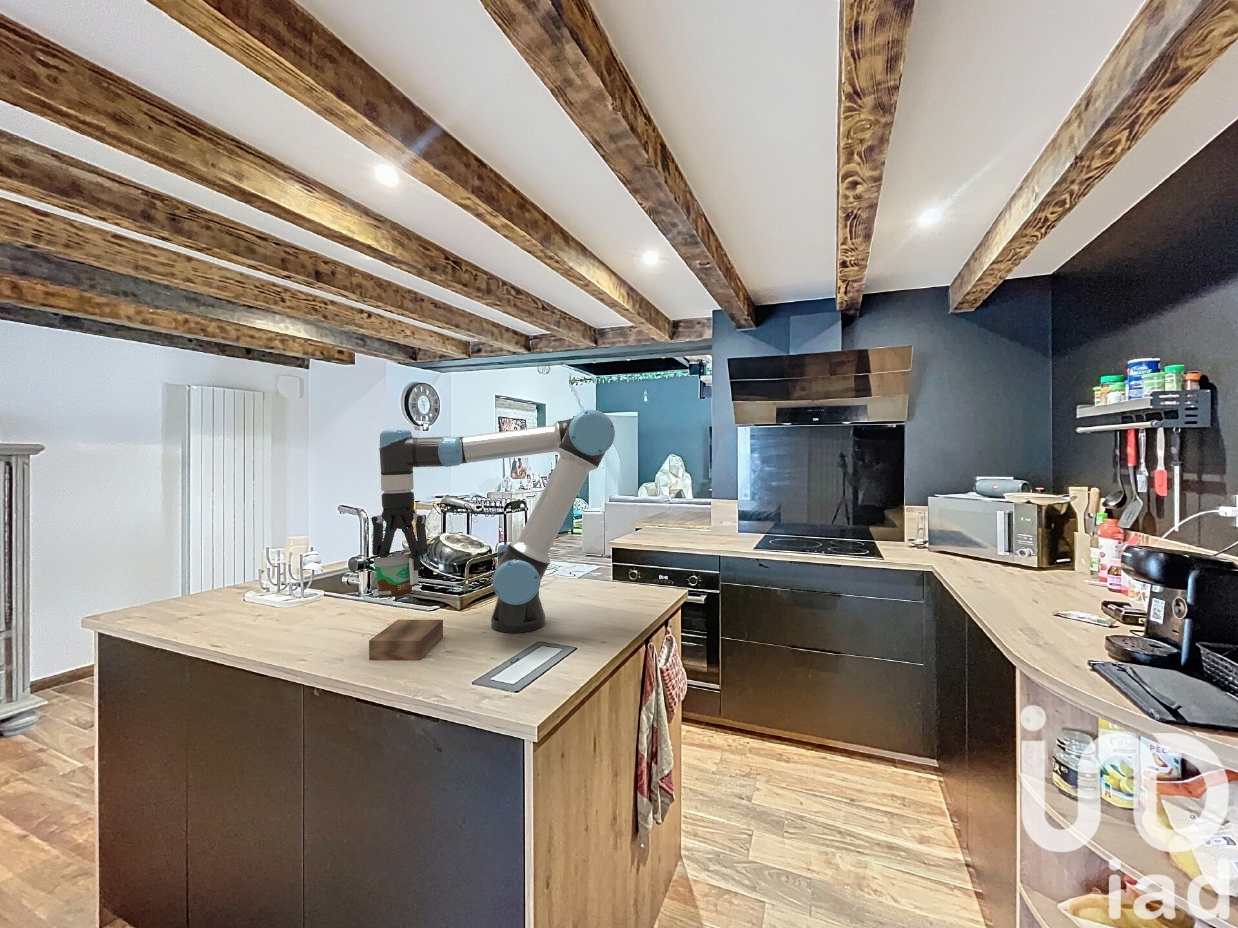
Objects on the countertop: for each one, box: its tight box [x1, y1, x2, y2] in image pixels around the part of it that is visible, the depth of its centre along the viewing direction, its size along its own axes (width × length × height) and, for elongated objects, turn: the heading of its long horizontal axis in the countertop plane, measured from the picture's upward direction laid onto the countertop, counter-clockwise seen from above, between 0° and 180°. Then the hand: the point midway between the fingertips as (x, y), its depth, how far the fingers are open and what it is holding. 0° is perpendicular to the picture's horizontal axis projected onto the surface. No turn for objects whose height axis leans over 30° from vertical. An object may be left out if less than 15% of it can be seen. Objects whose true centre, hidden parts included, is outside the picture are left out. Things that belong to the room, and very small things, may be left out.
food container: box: [373, 548, 413, 599], centre depth 132 cm, size 12×6×10 cm, turn 168°
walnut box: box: [368, 619, 444, 661], centre depth 132 cm, size 12×16×5 cm
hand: (401, 583), depth 132 cm, fingers closed on food container, 6 cm apart
